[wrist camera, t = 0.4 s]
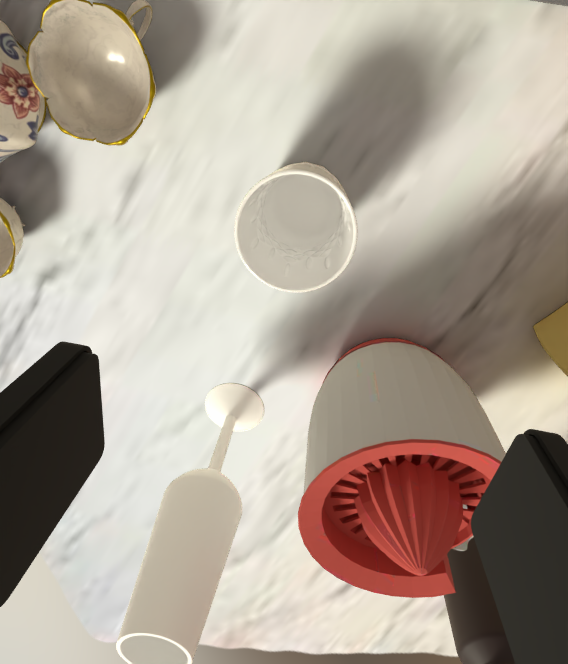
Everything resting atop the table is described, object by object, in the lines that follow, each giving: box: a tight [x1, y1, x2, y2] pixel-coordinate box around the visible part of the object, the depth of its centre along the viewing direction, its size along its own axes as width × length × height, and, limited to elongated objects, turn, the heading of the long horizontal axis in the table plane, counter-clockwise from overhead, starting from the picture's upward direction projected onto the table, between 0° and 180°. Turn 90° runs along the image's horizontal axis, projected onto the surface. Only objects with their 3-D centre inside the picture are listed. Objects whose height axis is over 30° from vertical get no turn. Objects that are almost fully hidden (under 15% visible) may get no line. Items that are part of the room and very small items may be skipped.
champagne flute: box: [116, 383, 264, 664], centre depth 36 cm, size 7×7×24 cm
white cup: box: [234, 162, 357, 292], centre depth 31 cm, size 8×8×10 cm
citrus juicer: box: [298, 338, 506, 598], centre depth 35 cm, size 16×17×20 cm
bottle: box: [444, 537, 515, 664], centre depth 42 cm, size 7×7×20 cm
